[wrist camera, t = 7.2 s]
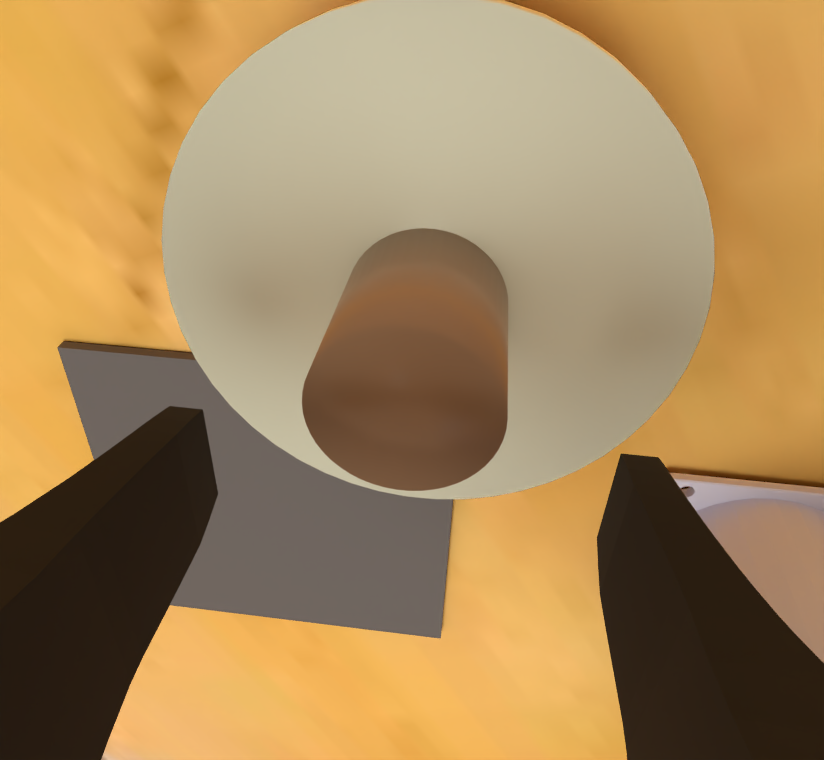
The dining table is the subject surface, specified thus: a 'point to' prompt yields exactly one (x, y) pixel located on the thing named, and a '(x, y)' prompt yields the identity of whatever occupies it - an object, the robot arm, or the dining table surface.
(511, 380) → the lid
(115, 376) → the mat
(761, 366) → the dining table surface
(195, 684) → the dining table surface
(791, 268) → the dining table surface
